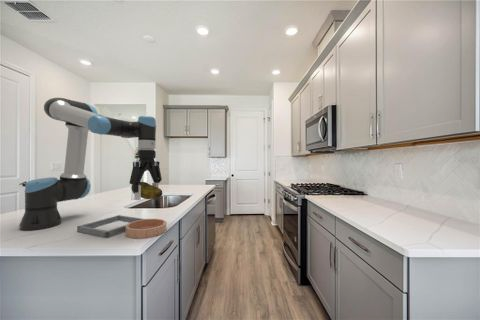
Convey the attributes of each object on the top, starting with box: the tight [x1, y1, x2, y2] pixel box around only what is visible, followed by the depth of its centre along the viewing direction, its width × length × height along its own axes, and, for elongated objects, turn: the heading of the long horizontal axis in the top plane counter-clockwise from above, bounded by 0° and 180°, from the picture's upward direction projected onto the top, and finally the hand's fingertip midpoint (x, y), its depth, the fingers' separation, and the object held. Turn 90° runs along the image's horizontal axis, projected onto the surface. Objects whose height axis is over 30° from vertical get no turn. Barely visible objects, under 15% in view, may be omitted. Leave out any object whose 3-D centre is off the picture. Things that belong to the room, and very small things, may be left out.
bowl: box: [124, 218, 167, 239], centre depth 98 cm, size 17×17×4 cm
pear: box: [130, 181, 163, 200], centre depth 98 cm, size 8×13×8 cm, turn 86°
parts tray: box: [76, 214, 144, 239], centre depth 103 cm, size 19×21×2 cm
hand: (146, 197), depth 98 cm, fingers closed on pear, 9 cm apart
